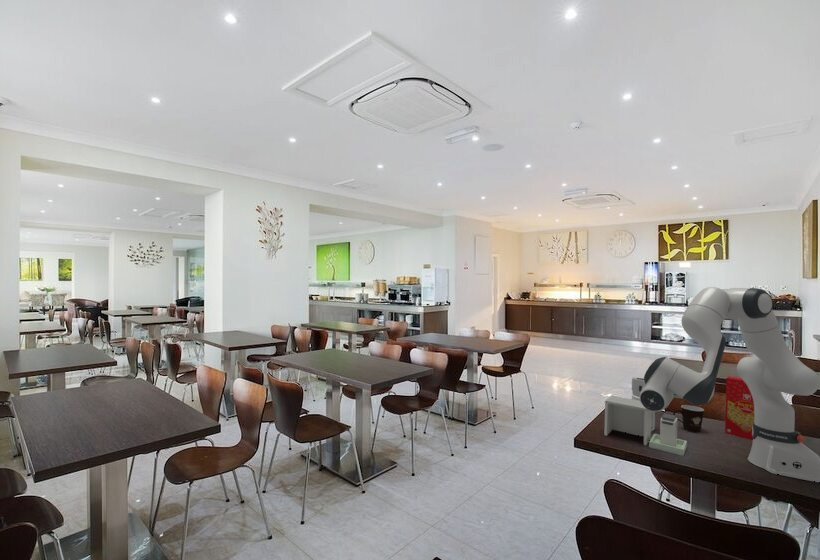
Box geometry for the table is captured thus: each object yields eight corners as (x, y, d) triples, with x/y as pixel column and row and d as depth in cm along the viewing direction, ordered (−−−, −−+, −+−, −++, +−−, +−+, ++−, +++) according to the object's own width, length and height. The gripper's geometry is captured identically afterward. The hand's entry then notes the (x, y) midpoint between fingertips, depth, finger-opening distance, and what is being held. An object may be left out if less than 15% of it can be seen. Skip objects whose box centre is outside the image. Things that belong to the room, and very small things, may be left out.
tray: (686, 447, 164) (686, 440, 164) (683, 456, 155) (683, 449, 155) (653, 439, 172) (654, 433, 172) (649, 447, 163) (649, 441, 163)
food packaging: (725, 433, 181) (726, 377, 181) (727, 430, 184) (729, 376, 184) (768, 444, 170) (770, 384, 169) (770, 441, 173) (772, 382, 173)
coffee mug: (702, 429, 185) (703, 407, 185) (704, 435, 178) (704, 412, 178) (672, 423, 192) (673, 402, 192) (672, 429, 184) (673, 407, 184)
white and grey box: (676, 445, 165) (677, 415, 164) (674, 451, 159) (675, 420, 158) (662, 441, 168) (663, 412, 168) (659, 447, 162) (660, 417, 162)
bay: (651, 437, 173) (652, 402, 173) (646, 445, 165) (647, 408, 165) (610, 428, 183) (611, 395, 183) (604, 435, 175) (605, 400, 175)
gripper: (695, 387, 137) (698, 380, 147) (628, 377, 150) (635, 371, 160) (695, 406, 137) (698, 397, 147) (627, 394, 150) (635, 387, 160)
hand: (665, 384), depth 154 cm, fingers open, 8 cm apart
